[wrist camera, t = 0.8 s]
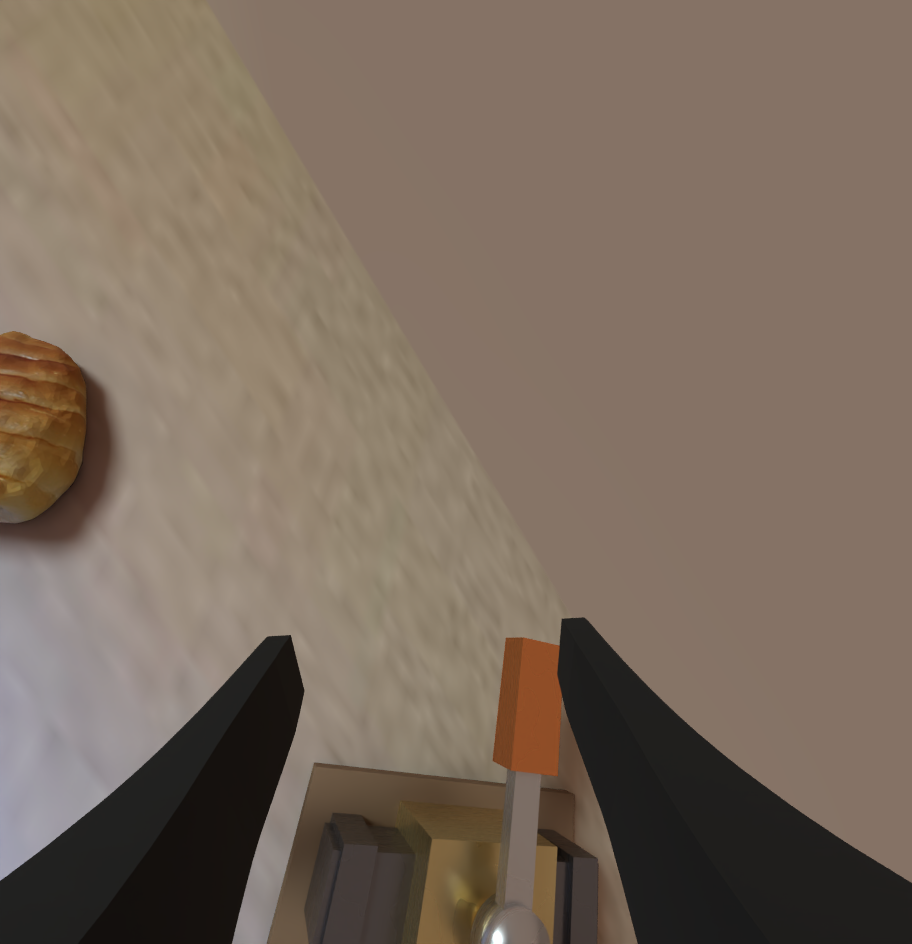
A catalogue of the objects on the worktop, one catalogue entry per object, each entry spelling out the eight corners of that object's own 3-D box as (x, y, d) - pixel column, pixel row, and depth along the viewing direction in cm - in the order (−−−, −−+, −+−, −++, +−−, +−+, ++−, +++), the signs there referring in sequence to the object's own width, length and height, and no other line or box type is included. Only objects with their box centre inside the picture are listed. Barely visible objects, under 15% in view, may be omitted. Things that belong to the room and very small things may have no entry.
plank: (559, 952, 22) (568, 961, 21) (263, 958, 18) (262, 970, 17) (566, 790, 25) (574, 794, 24) (314, 762, 21) (315, 766, 20)
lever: (525, 982, 16) (550, 1013, 14) (463, 984, 15) (483, 1019, 14) (548, 647, 21) (567, 647, 20) (502, 636, 20) (519, 636, 19)
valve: (553, 935, 22) (631, 1015, 17) (295, 937, 18) (305, 1040, 13) (559, 814, 24) (629, 856, 19) (330, 794, 20) (349, 839, 15)
